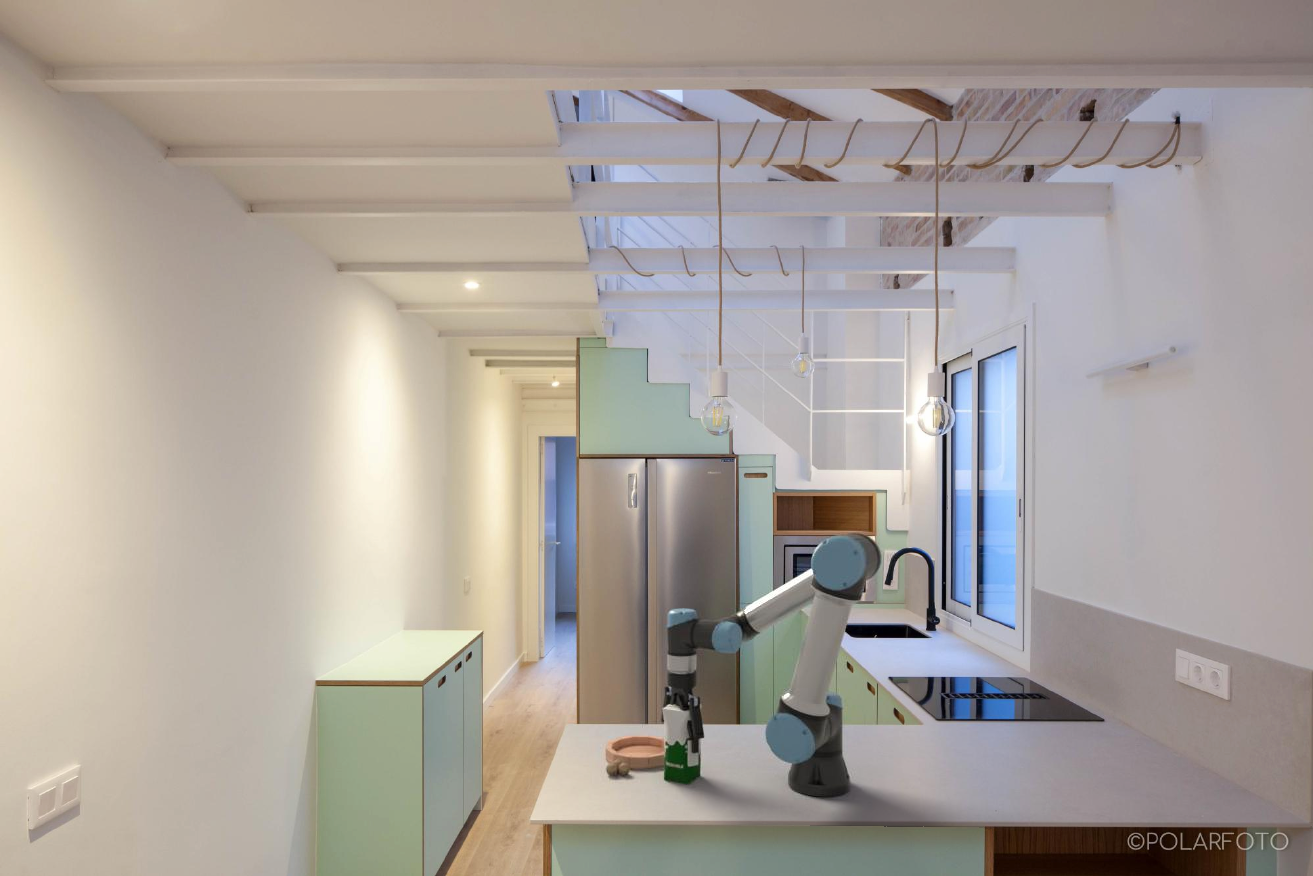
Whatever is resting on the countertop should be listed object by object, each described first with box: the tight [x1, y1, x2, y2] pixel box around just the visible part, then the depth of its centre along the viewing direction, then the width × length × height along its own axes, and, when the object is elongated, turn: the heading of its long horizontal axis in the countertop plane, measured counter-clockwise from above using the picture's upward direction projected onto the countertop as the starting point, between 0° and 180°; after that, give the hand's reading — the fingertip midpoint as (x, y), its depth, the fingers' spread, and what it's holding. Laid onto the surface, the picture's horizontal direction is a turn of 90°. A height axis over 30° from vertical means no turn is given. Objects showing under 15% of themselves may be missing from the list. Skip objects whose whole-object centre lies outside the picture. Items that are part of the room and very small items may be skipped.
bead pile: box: [605, 760, 631, 777], centre depth 213 cm, size 6×6×3 cm
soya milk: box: [661, 704, 703, 785], centre depth 210 cm, size 9×9×20 cm
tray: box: [604, 734, 664, 770], centre depth 226 cm, size 19×19×3 cm
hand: (682, 758), depth 210 cm, fingers open, 10 cm apart
